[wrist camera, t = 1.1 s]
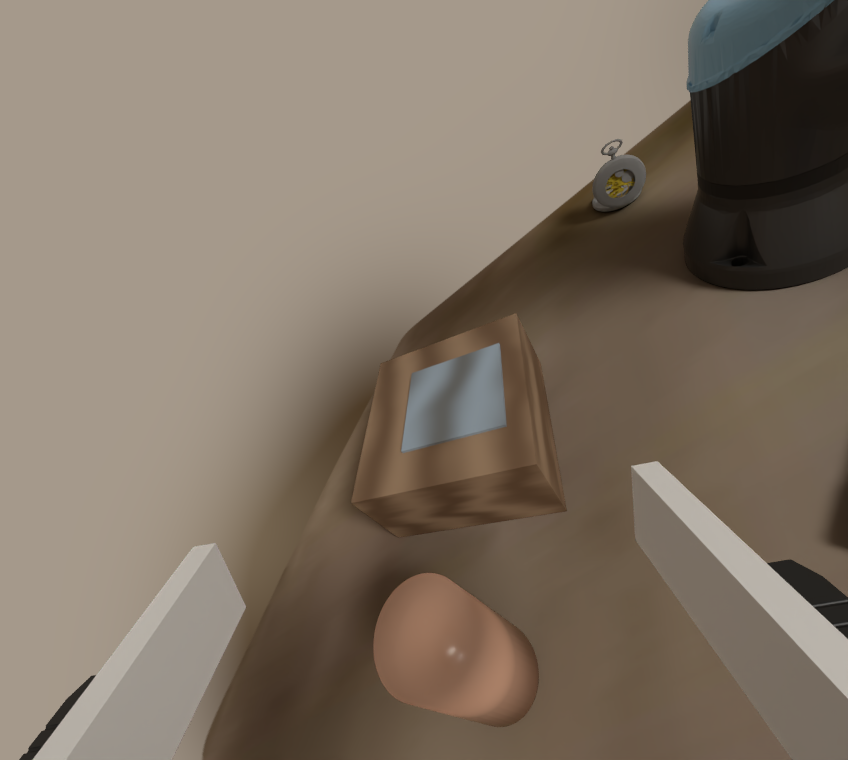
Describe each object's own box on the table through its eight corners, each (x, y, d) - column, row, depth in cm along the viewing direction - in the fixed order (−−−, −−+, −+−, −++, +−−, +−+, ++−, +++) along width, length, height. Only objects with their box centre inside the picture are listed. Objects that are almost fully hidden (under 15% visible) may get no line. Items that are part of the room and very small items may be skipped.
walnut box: (540, 363, 46) (515, 310, 41) (566, 511, 34) (535, 462, 29) (414, 402, 53) (379, 361, 48) (397, 537, 41) (348, 501, 36)
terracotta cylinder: (533, 617, 30) (472, 567, 24) (544, 730, 26) (473, 707, 19) (456, 621, 33) (382, 577, 26) (454, 724, 28) (364, 703, 22)
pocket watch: (614, 185, 62) (600, 120, 56) (664, 187, 56) (654, 113, 50) (577, 218, 62) (558, 156, 56) (623, 224, 55) (607, 154, 49)
